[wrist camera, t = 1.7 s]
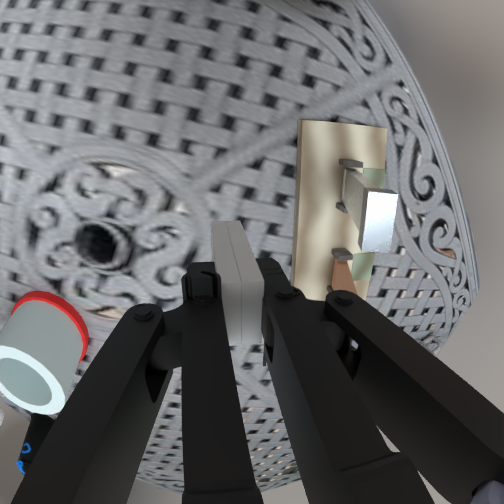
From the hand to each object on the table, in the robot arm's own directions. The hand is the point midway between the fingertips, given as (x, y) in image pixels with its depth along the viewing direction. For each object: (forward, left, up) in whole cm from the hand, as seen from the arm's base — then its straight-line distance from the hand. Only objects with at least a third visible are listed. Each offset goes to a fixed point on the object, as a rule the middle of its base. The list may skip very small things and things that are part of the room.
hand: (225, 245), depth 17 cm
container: (+34, -20, -28) cm, 49 cm away
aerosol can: (+68, -24, -28) cm, 78 cm away
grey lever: (-5, +19, -25) cm, 32 cm away
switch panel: (+1, +22, -28) cm, 36 cm away
